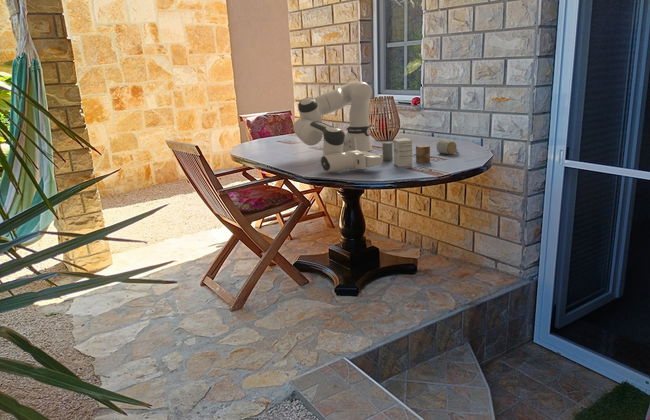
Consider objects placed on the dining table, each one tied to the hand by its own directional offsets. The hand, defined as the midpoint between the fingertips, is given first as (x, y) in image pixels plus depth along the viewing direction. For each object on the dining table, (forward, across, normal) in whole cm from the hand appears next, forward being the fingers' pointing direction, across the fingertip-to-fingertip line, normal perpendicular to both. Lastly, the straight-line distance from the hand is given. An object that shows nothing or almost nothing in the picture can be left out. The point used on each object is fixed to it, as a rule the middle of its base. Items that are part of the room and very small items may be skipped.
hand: (381, 156), depth 242 cm
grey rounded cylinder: (+10, -15, -6) cm, 19 cm away
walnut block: (+23, 0, -6) cm, 23 cm away
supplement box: (+11, 0, -6) cm, 13 cm away
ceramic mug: (+44, -11, -6) cm, 46 cm away
